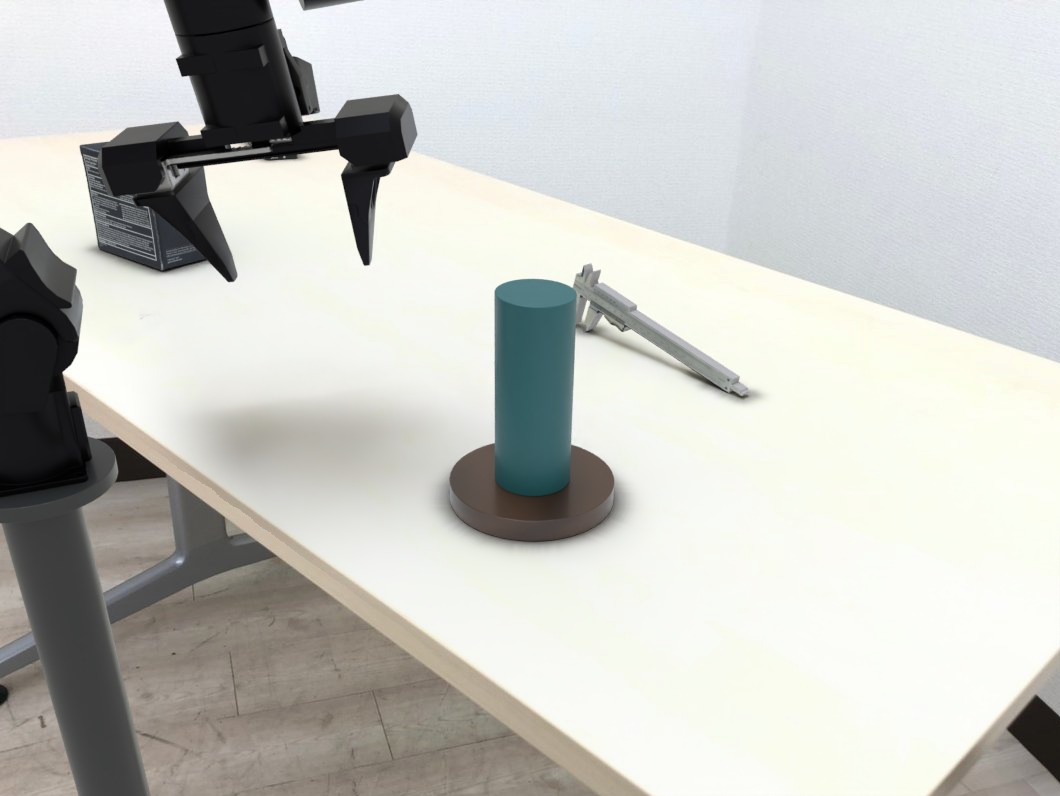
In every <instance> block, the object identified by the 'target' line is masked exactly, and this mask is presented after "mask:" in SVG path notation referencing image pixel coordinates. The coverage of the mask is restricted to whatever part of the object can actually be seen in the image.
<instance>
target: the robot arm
mask: <svg viewBox="0 0 1060 796" xmlns="http://www.w3.org/2000/svg"><path fill="white" fill-rule="evenodd" d="M362 1H364V0H298V3H299V5H300V7H301V9H302V11H303V12H306V11H311V10H317V9H322V8H328V7H333V6H339V5H346V4H351V3H355V2H362ZM163 3H164V6H165V9H166V12H167V15H168V18H169V22H170V24H171V27H172V31H173V33H174V36H175V38H176V41H177V45H178V48H179V50H180V51H179V52H180V53H181V54H180V55H179V56H176V58H175V61H176V65H177V67H178V70H179V73H180V76H181V78H185V77H188V78H189V81H190V84H191V86H192V89H193V93H194V96H195V99H196V101H197V104H198V108H199V111H200V114H201V116H202V120H203V123H204V126H203V127H202V128H201V129H200V130H199V132H200V134H194V135H189V131H188V130H187V129H186V128H185V127H184V126H183V125H182V123H181V122H180V121H179V120H177V121H168V122H161V123H154V124H145V125H137V126H129V127H126V128H125V129H123V130H122V131H121V132H119V133H118V134H117V135H116V136H114V137H113V138H112V139H111V140H109V141H107V142H108V143H107V144H106V145H104V146H103V147H102V148H101V150H100V153H99V155H98V171H99V173H100V176H101V178H102V181H103V183H104V186H105V188H106V191H107V193H108V195H111V196H113V197H114V196H123V195H131V194H136V195H135V196H133V197H132V201H133V203H134V205H135V206H136V207H144V206H147V207H150V208H151V209H152V210H153V211H154V212H156V213H157V214H158V215H159V216H160V217H162V218H163V219H164V220H165V221H166V222H167V223H169V224H170V225H171V226H172V227H173V228H174V229H176V230H177V231H178V232H179V233H180V234H181V235H183V236H184V237H185V238H186V239H187V240H188V241H189V242H190V243H191V244H192V245H193V246H194V247H195V248H196V249H197V250H198V251H199V252H200V253H201V254H202V256H203V257H204V258H205V259H204V260H206V261H207V262H208V264H210V265H211V266H212V267H213V268H214V269H215V270H216V271H217V272H218V273H219V275H221V276H222V278H224V280H225V281H226V282H227V283H234V282H235V281H236V280H237V279H238V271H237V267H236V263H235V260H234V255H233V254H232V251H231V249H230V246H229V243H228V240H227V238H226V236H225V234H224V231H223V229H222V227H221V224H220V221H219V218H218V216H217V214H216V212H215V210H214V207H213V204H212V202H211V200H210V197H209V192H208V186H207V185H208V184H207V179H206V170H205V167H208V166H209V167H210V166H217V165H224V164H232V163H241V162H250V161H257V160H265V159H266V158H274V157H282V156H290V155H297V156H299V155H305V154H307V155H308V154H313V153H321V152H323V153H324V152H331V151H338V153H339V156H340V157H341V158H342V159H344V160H345V161H347V163H346V165H345V167H344V168H343V170H342V171H341V173H340V178H341V183H342V188H343V193H344V196H345V200H346V206H347V209H348V214H349V219H350V223H351V227H352V233H353V236H354V242H355V245H356V249H357V252H358V255H359V257H360V260H361V262H362V264H363V266H364V267H368V266H370V265H371V263H372V261H373V251H374V250H373V249H374V235H375V222H376V220H375V219H376V206H377V198H378V191H379V187H380V181H381V178H385V177H387V176H390V175H391V173H392V171H393V169H394V167H395V164H396V163H397V162H401V161H404V160H406V159H408V158H409V156H410V153H411V152H412V149H413V146H414V144H415V142H416V139H417V137H418V130H417V125H416V120H415V116H414V112H413V108H412V106H411V104H410V102H409V101H408V100H407V99H405V98H404V97H403V96H402V95H400V93H393V94H388V95H379V96H370V97H363V98H355V99H347V100H345V103H344V104H343V105H342V107H341V108H340V109H339V111H338V112H337V113H336V116H335V117H331V118H323V119H316V120H315V119H314V120H306V121H304V119H303V117H304V116H305V117H306V116H310V115H317V114H319V113H320V112H321V108H320V107H321V106H320V101H319V96H318V91H317V86H316V81H315V76H314V70H313V64H312V63H311V62H308V61H307V60H304V59H302V58H300V57H298V56H294V55H292V53H291V52H290V50H289V48H288V44H287V40H286V38H285V36H284V34H283V30H282V28H277V24H276V21H275V17H274V14H273V10H272V7H271V3H270V0H163ZM285 138H287V139H290V138H291V139H292V141H287V142H278V143H271V141H272V140H275V141H277V140H279V139H281V140H283V139H285ZM248 142H250V144H251V145H250V144H249V145H244V146H241V145H240V144H248ZM231 145H240V146H237V147H235V146H233V147H232V146H231ZM77 275H78V270H77V268H76V267H74V266H72V265H71V264H68V263H67V262H66V261H63V260H62V259H61V258H60V257H59V256H58V255H57V254H55V253H54V252H53V250H52V249H51V248H50V246H49V245H48V243H47V242H46V240H45V239H44V237H43V235H42V234H41V232H40V231H39V230H38V229H37V228H36V226H35V225H34V223H32V222H27V223H25V224H24V225H23V226H22V227H21V228H20V229H19V230H18V231H16V232H15V234H13V233H11V232H9V231H7V230H6V229H3V228H2V227H0V498H1V497H6V496H12V495H17V494H23V493H28V492H34V491H39V490H45V489H51V488H56V487H62V486H67V485H73V484H78V483H83V482H86V481H87V480H89V476H88V472H87V467H86V463H85V462H88V461H90V460H91V459H92V454H91V449H90V445H89V440H88V437H89V435H88V432H87V427H86V422H85V419H84V414H83V409H82V406H81V402H80V398H79V393H78V392H76V391H74V390H70V391H67V385H66V381H65V377H64V372H65V371H66V370H67V369H68V368H69V367H71V365H72V364H73V362H74V361H75V359H76V357H77V355H78V353H79V345H80V337H81V328H82V321H83V313H84V302H83V301H84V299H83V296H82V293H81V291H80V289H79V287H78V286H77V284H76V282H77V281H76V280H77Z"/></svg>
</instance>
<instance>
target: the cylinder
mask: <svg viewBox="0 0 1060 796" xmlns="http://www.w3.org/2000/svg"><path fill="white" fill-rule="evenodd" d="M493 296H494V297H493V299H494V301H493V302H494V303H493V305H494V306H493V307H494V308H493V309H494V310H493V311H494V313H493V314H494V316H493V317H494V443H495V480H496V482H497V484H498V485H499V486H500V487H501V488H503V489H504V490H506V491H508V492H511V493H514V494H518V495H523V496H543V495H549V494H552V493H555V492H558V491H560V490H562V489H563V488H564V487H565V486H566V485H567V484H568V482H569V480H570V461H571V445H572V433H573V432H572V431H573V409H574V408H573V407H574V386H575V385H574V382H575V380H574V379H575V358H576V357H575V356H576V330H577V324H576V309H577V293H576V291H575V290H574V289H573V286H570V285H569V284H566V283H563V282H559V281H556V280H552V279H544V278H520V279H513V280H509V281H505V282H503V283H501V284H499V285H497V286H496V287H495V289H494V295H493Z"/></svg>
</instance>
